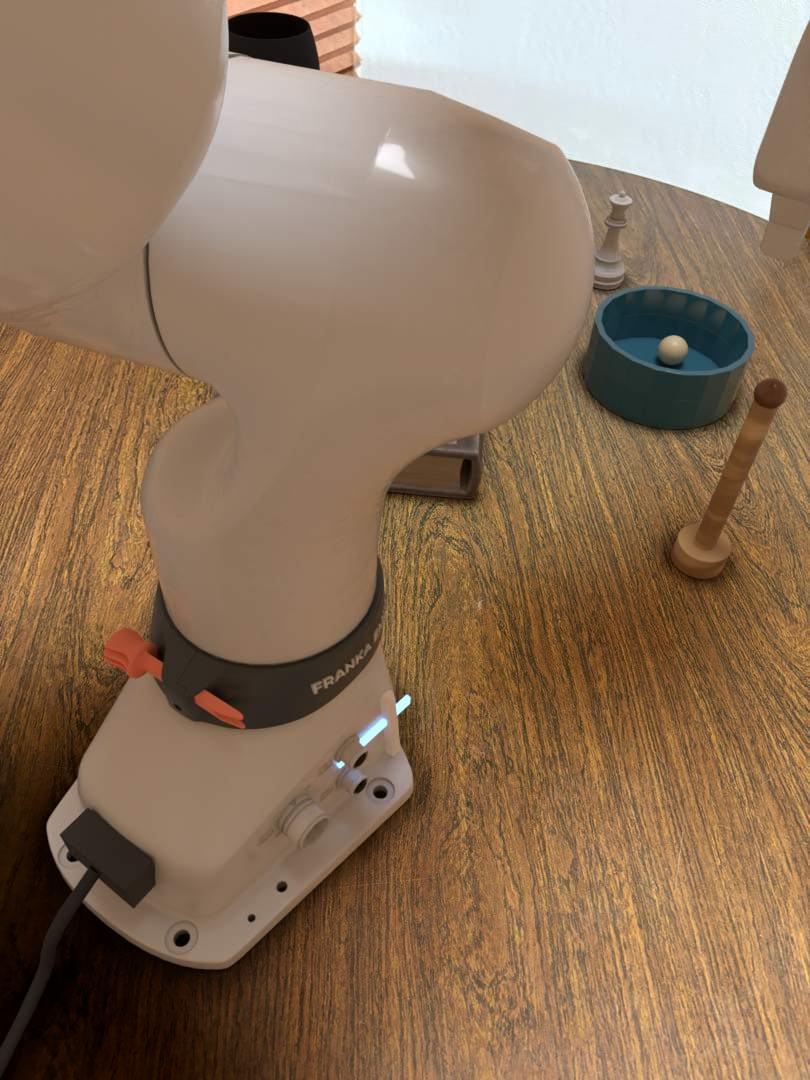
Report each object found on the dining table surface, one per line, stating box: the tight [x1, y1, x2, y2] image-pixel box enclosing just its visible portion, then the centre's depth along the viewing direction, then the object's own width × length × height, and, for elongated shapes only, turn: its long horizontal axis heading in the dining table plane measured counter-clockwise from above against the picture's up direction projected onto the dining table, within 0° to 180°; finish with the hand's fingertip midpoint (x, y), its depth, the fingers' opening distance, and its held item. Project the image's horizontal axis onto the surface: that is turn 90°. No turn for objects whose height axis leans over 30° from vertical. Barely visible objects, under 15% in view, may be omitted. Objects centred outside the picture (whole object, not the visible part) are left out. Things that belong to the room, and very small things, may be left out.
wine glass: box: [228, 11, 321, 71], centre depth 94 cm, size 10×10×20 cm
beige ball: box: [657, 335, 688, 365], centre depth 82 cm, size 3×3×3 cm
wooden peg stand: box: [670, 377, 788, 580], centre depth 60 cm, size 4×4×17 cm
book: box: [210, 388, 484, 500], centre depth 79 cm, size 30×22×5 cm
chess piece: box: [593, 189, 633, 291], centre depth 91 cm, size 4×4×10 cm
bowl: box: [582, 285, 756, 430], centre depth 80 cm, size 14×14×6 cm
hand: (803, 218), depth 47 cm, fingers open, 8 cm apart
